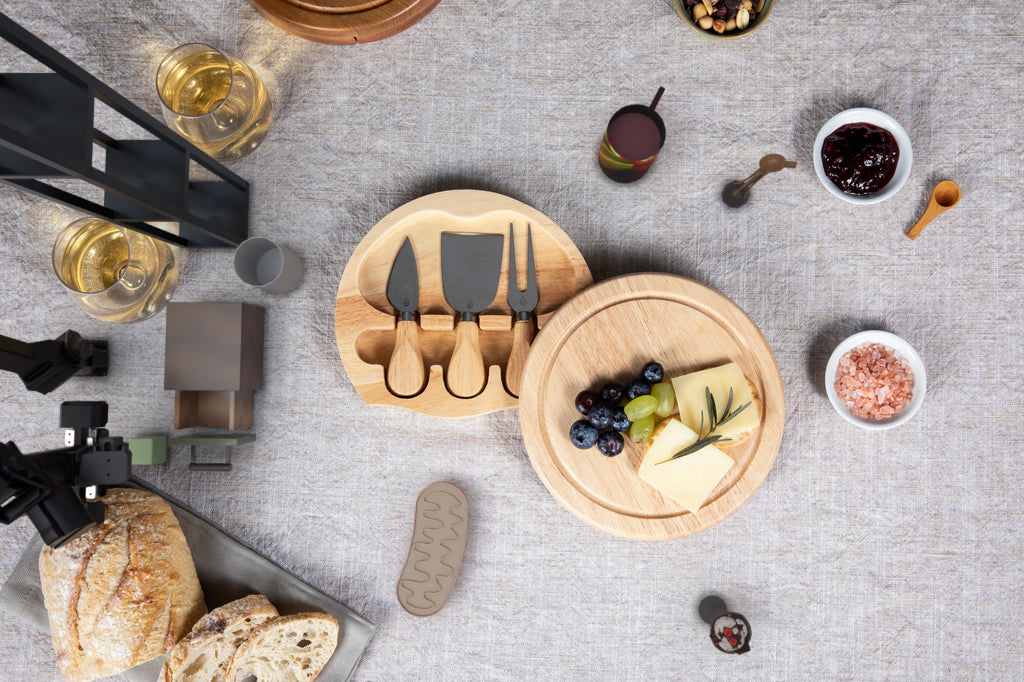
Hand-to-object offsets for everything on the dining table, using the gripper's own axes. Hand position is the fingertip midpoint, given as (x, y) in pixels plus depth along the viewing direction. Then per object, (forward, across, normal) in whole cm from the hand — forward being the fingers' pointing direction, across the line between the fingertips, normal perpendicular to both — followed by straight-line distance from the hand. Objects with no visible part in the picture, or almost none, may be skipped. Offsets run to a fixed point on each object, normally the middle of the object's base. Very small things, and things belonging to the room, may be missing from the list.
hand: (116, 456), depth 107 cm
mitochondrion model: (+11, -16, -51) cm, 55 cm away
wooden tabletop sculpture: (+11, +46, -104) cm, 114 cm away
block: (+11, 0, 0) cm, 11 cm away
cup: (+11, +32, -22) cm, 40 cm away
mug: (+11, +55, -84) cm, 101 cm away
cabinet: (+11, +18, -13) cm, 25 cm away
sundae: (+11, -27, -99) cm, 103 cm away
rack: (+11, +42, -10) cm, 45 cm away
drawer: (+10, +6, -13) cm, 18 cm away
